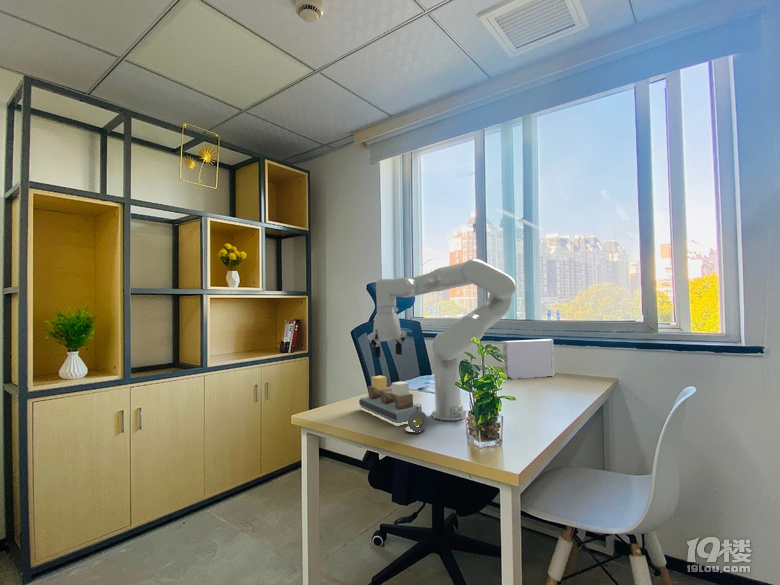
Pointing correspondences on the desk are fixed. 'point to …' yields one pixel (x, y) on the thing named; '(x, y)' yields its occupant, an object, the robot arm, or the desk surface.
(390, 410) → the dock
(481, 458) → the desk surface
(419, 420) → the pocket watch
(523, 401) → the desk surface
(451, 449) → the desk surface
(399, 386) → the cream box
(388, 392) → the brown blocks
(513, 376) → the game console
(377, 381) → the mustard box
